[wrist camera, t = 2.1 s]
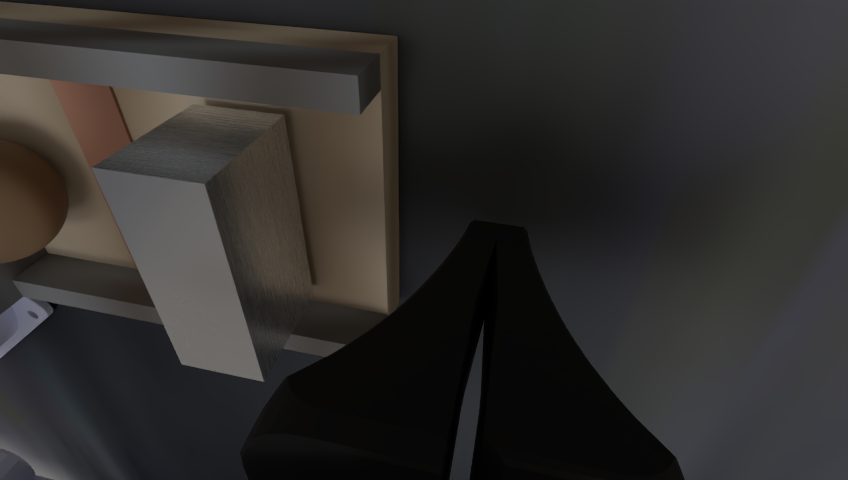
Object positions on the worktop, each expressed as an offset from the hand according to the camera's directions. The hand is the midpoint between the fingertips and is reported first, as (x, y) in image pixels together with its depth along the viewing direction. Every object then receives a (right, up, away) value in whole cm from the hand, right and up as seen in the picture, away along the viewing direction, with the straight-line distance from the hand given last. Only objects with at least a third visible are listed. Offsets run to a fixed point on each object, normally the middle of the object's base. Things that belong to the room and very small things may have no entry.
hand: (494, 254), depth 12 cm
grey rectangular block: (-6, +1, +1) cm, 7 cm away
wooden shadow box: (-10, +3, +3) cm, 11 cm away
